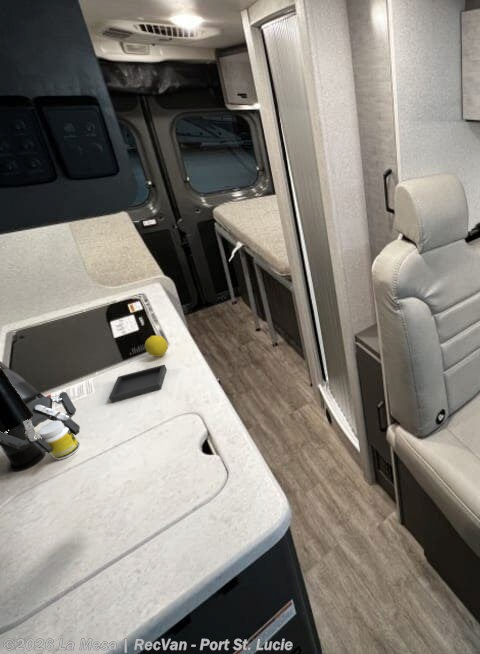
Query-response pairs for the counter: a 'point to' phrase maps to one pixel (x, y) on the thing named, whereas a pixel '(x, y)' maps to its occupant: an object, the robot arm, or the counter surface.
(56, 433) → the supplement bottle
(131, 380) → the dock pad
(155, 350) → the lemon
